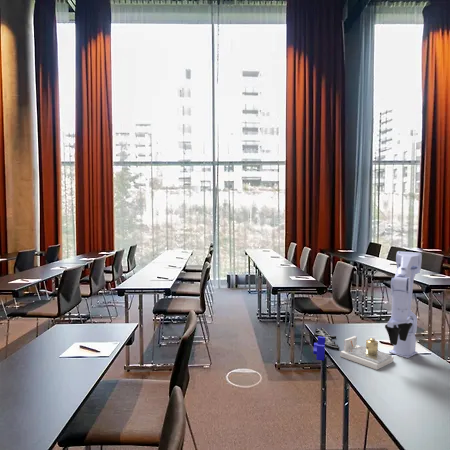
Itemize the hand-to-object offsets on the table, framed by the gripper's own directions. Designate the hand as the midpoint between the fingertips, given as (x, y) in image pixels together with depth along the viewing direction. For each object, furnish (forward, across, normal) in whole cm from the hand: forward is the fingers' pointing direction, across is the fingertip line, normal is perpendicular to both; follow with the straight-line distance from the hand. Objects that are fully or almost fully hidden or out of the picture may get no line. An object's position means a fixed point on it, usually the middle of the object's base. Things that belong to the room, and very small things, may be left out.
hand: (398, 342), depth 147 cm
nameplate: (+10, +3, +35) cm, 37 cm away
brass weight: (+6, -4, +9) cm, 11 cm away
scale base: (+9, -4, +11) cm, 15 cm away
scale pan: (+7, -4, +9) cm, 12 cm away
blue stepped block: (+10, -16, +26) cm, 31 cm away
